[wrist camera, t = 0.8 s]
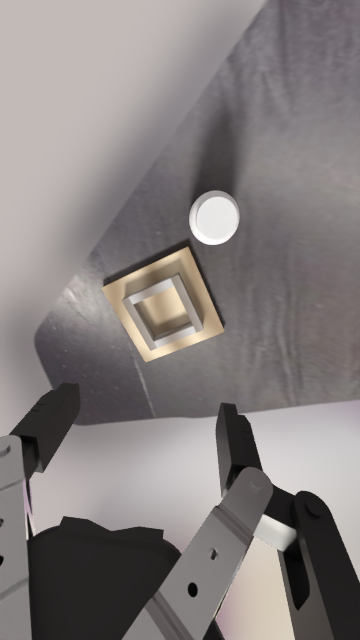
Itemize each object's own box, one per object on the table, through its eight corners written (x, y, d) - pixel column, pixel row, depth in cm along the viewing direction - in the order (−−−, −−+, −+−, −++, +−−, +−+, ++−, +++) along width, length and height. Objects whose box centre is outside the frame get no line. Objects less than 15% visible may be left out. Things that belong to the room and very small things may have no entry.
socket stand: (188, 245, 33) (188, 248, 30) (223, 329, 38) (226, 337, 35) (103, 286, 36) (96, 291, 33) (146, 359, 40) (143, 369, 38)
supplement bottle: (180, 215, 32) (177, 213, 23) (214, 186, 30) (224, 171, 21) (205, 248, 33) (210, 259, 24) (237, 222, 32) (257, 222, 23)
